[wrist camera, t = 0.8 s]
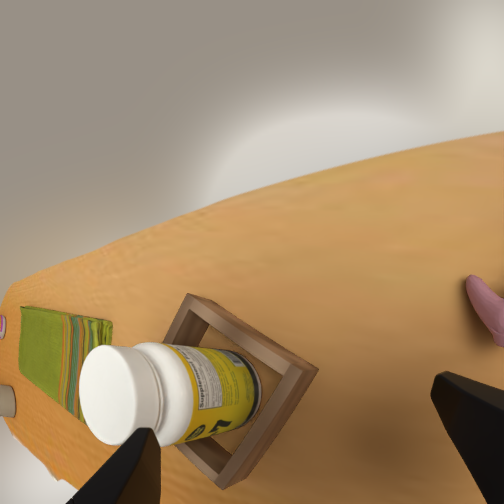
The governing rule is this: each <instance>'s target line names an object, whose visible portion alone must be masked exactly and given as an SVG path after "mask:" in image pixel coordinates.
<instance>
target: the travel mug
mask: <svg viewBox="0 0 504 504" xmlns="http://www.w3.org/2000/svg"><path fill="white" fill-rule="evenodd" d="M15 412H16V400H15V395H14V391H13V389H12V387H11V386H6V385H0V416H3V417H14V415H15Z"/></svg>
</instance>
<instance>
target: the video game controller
mask: <svg viewBox="0 0 504 504" xmlns="http://www.w3.org/2000/svg"><path fill="white" fill-rule="evenodd" d="M466 289H467V294H468V296H469V299H470V301H471V303H472V305H473V307H474V309H475V311H476V312H477V314H478V316H479V317H480V319H481V320H482V321H483V323H484V324H485V325H486V327H487V328H488V329H489V331H490V332H491V333H492V335H493V339H494V342H495V343H496V344H497V345H498V346H501V347H504V298H501V297H499V296H498V295H496V294H495V293H494V292H493V291H492V290H491V289H490V288H489V287H488V286H487V285H486V284H485V282H484V281H483V280H482V279H481V278H479V277H477V276H475V275H469V276H468V277H467V279H466Z"/></svg>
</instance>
